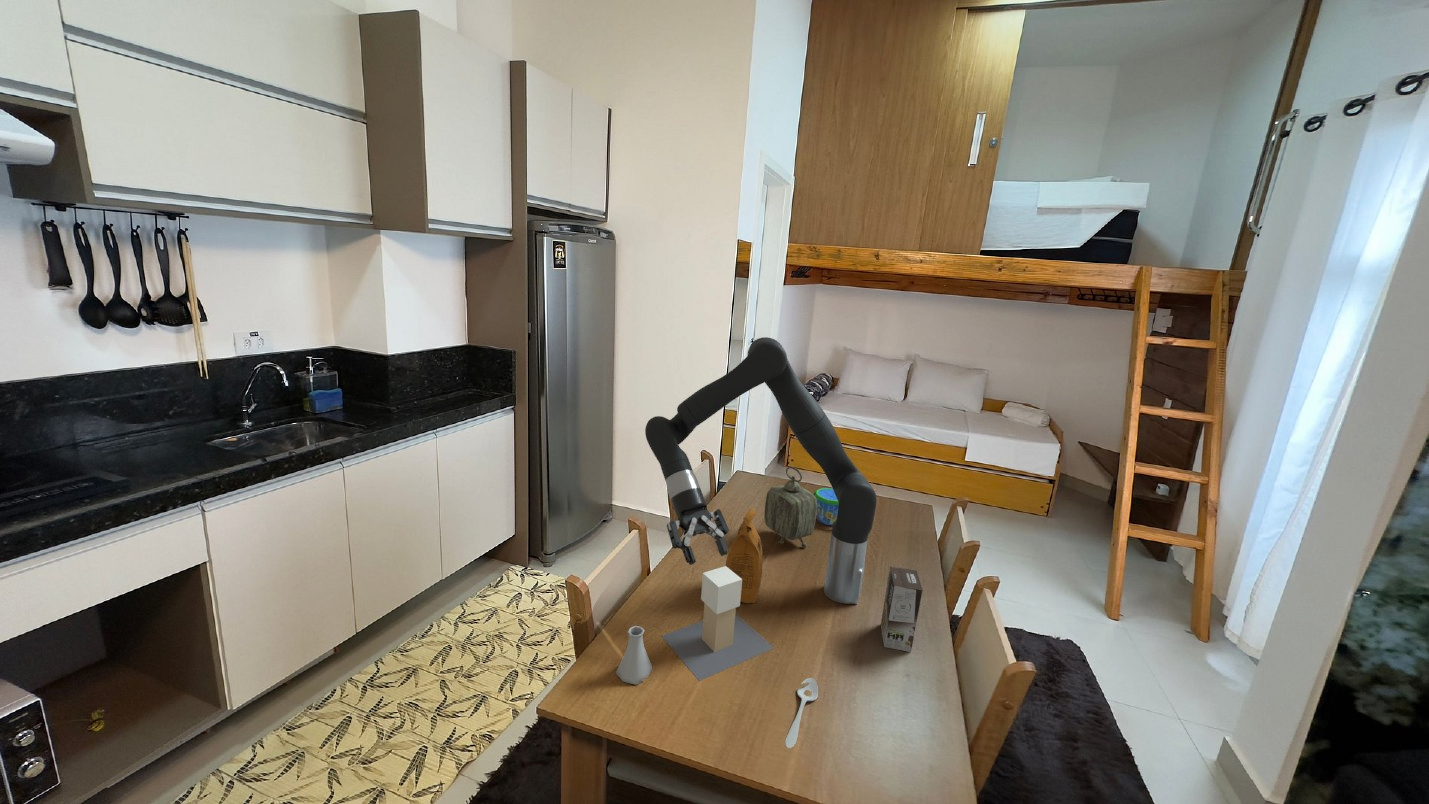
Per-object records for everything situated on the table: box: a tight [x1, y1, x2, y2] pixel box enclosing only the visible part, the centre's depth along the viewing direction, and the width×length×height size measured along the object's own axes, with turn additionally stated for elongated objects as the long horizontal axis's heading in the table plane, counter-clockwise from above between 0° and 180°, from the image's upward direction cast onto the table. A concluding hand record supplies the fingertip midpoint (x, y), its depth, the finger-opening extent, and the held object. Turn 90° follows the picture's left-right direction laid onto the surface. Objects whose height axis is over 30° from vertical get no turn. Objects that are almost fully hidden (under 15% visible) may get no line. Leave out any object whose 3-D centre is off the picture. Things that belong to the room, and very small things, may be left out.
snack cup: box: [812, 487, 839, 526], centre depth 189 cm, size 16×10×10 cm
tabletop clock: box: [764, 466, 817, 549], centre depth 171 cm, size 14×9×25 cm, turn 34°
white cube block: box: [700, 565, 742, 614], centre depth 122 cm, size 6×6×7 cm
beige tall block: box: [702, 602, 737, 652], centre depth 123 cm, size 5×5×16 cm
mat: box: [661, 612, 774, 682], centre depth 125 cm, size 20×16×1 cm
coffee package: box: [724, 508, 763, 604], centre depth 143 cm, size 10×12×22 cm
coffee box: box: [880, 566, 924, 653], centre depth 130 cm, size 9×6×16 cm
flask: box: [615, 625, 653, 685], centre depth 114 cm, size 7×7×10 cm
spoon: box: [785, 677, 819, 749], centre depth 107 cm, size 4×21×2 cm, turn 157°
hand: (708, 559), depth 125 cm, fingers open, 8 cm apart
